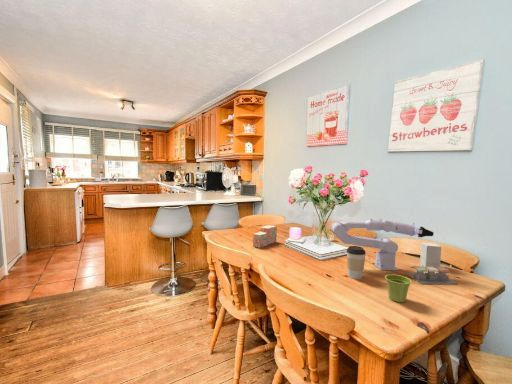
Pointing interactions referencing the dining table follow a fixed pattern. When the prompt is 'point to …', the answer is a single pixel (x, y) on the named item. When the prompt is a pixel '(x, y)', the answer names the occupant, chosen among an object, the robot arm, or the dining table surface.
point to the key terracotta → (442, 270)
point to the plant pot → (397, 287)
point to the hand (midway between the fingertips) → (428, 233)
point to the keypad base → (431, 278)
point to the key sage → (420, 270)
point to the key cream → (431, 270)
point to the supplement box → (430, 255)
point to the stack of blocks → (265, 236)
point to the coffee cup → (355, 261)
